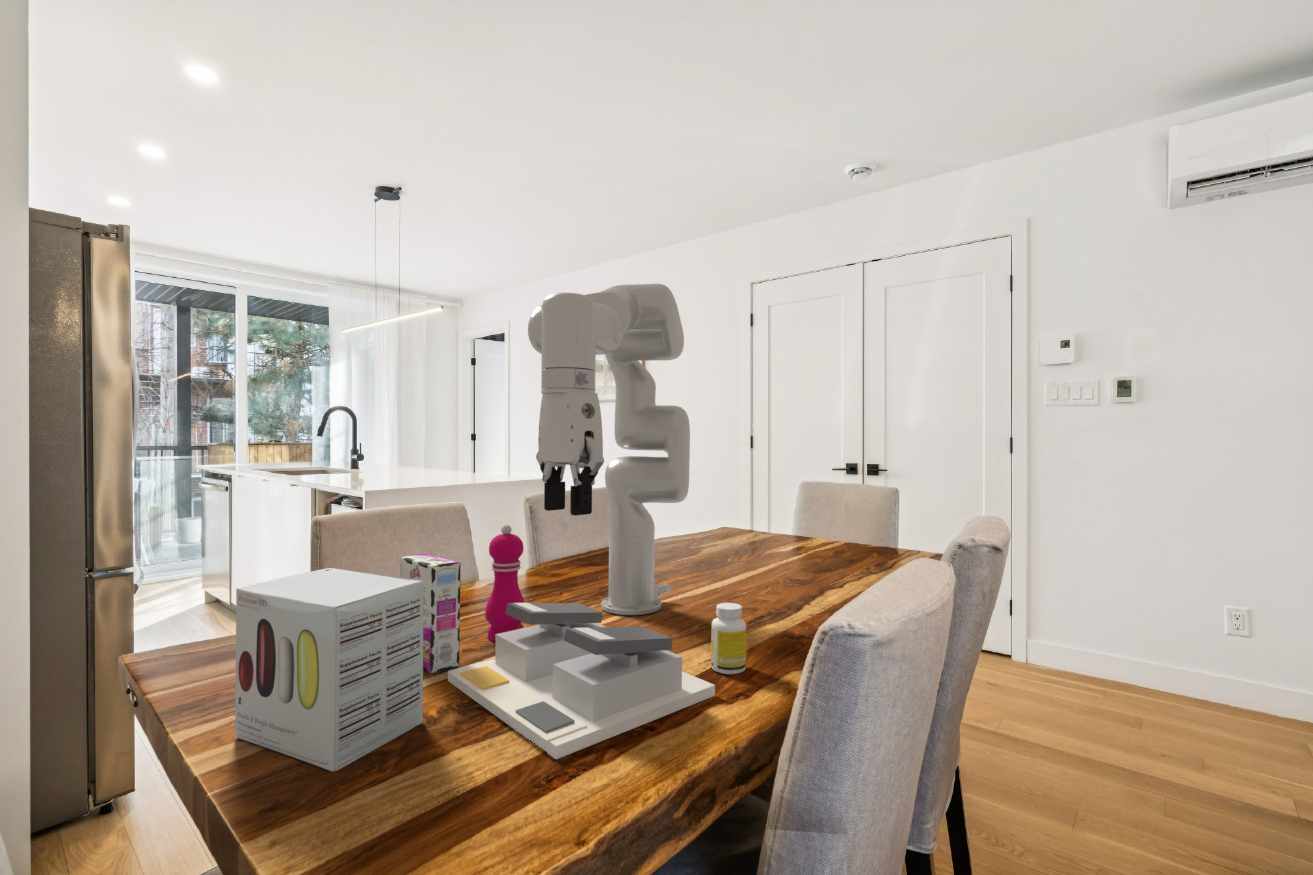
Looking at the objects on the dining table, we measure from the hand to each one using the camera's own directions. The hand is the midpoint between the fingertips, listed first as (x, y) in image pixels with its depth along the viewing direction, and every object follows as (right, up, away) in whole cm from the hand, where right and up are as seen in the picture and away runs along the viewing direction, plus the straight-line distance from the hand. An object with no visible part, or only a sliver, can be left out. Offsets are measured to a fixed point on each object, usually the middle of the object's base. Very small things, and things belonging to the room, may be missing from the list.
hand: (567, 510), depth 88 cm
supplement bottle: (+24, -26, +9) cm, 36 cm away
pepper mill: (-14, -26, +24) cm, 38 cm away
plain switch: (+7, -18, -4) cm, 20 cm away
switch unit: (+1, -26, +1) cm, 26 cm away
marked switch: (-3, -17, +8) cm, 20 cm away
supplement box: (-27, -26, -12) cm, 39 cm away
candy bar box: (-24, -26, +11) cm, 37 cm away
